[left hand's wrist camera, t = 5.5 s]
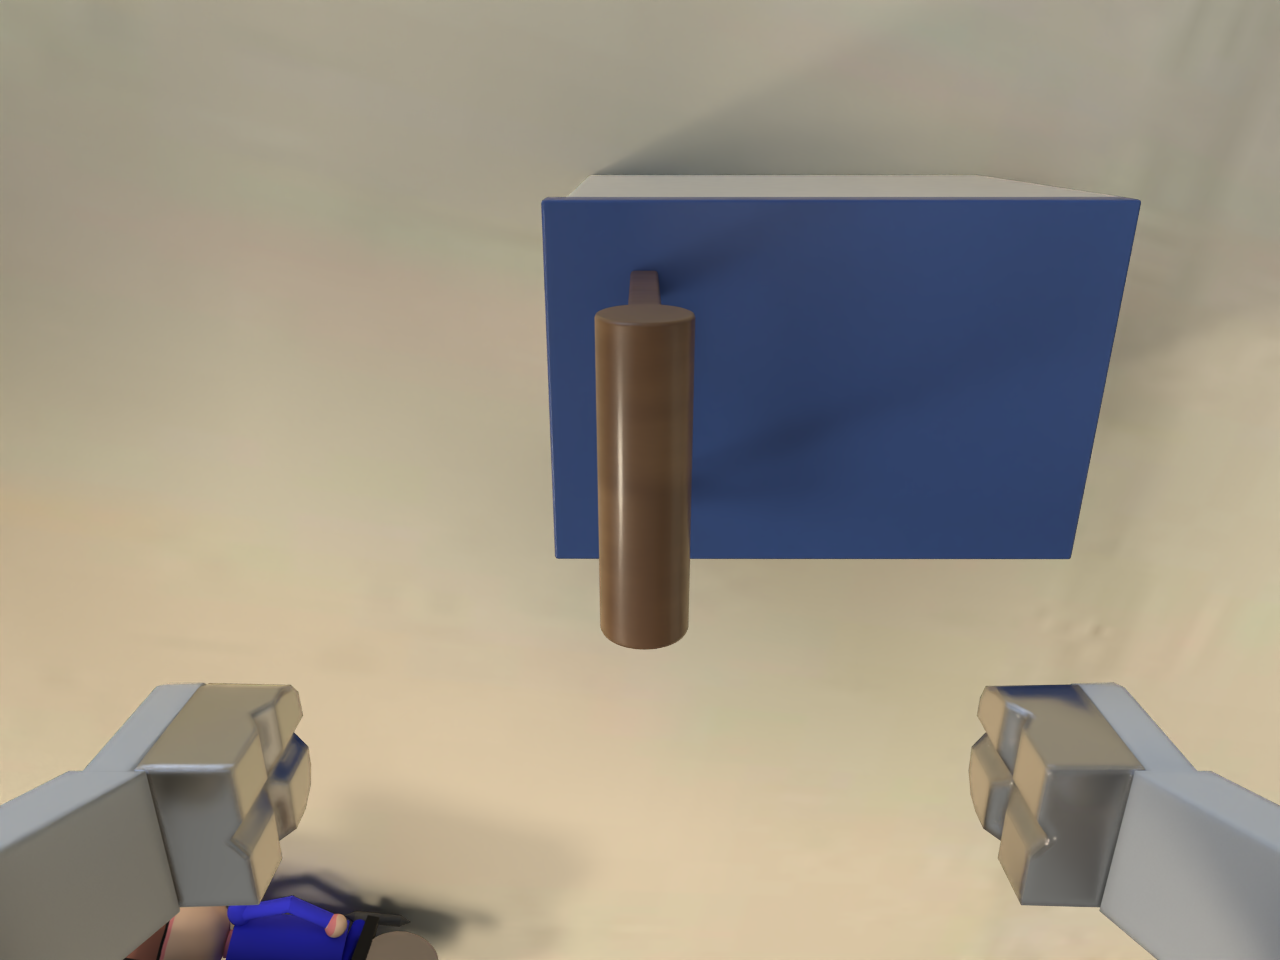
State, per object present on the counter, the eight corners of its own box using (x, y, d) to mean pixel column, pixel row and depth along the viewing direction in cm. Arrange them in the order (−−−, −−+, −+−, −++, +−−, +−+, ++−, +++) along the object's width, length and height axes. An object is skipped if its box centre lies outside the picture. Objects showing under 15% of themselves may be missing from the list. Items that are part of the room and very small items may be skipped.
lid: (558, 544, 27) (523, 713, 19) (544, 196, 23) (496, 232, 15) (1056, 545, 27) (1223, 715, 19) (1122, 196, 23) (1362, 232, 15)
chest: (593, 430, 37) (576, 543, 27) (588, 174, 33) (565, 196, 23) (944, 431, 37) (1056, 544, 27) (978, 174, 33) (1121, 196, 23)
